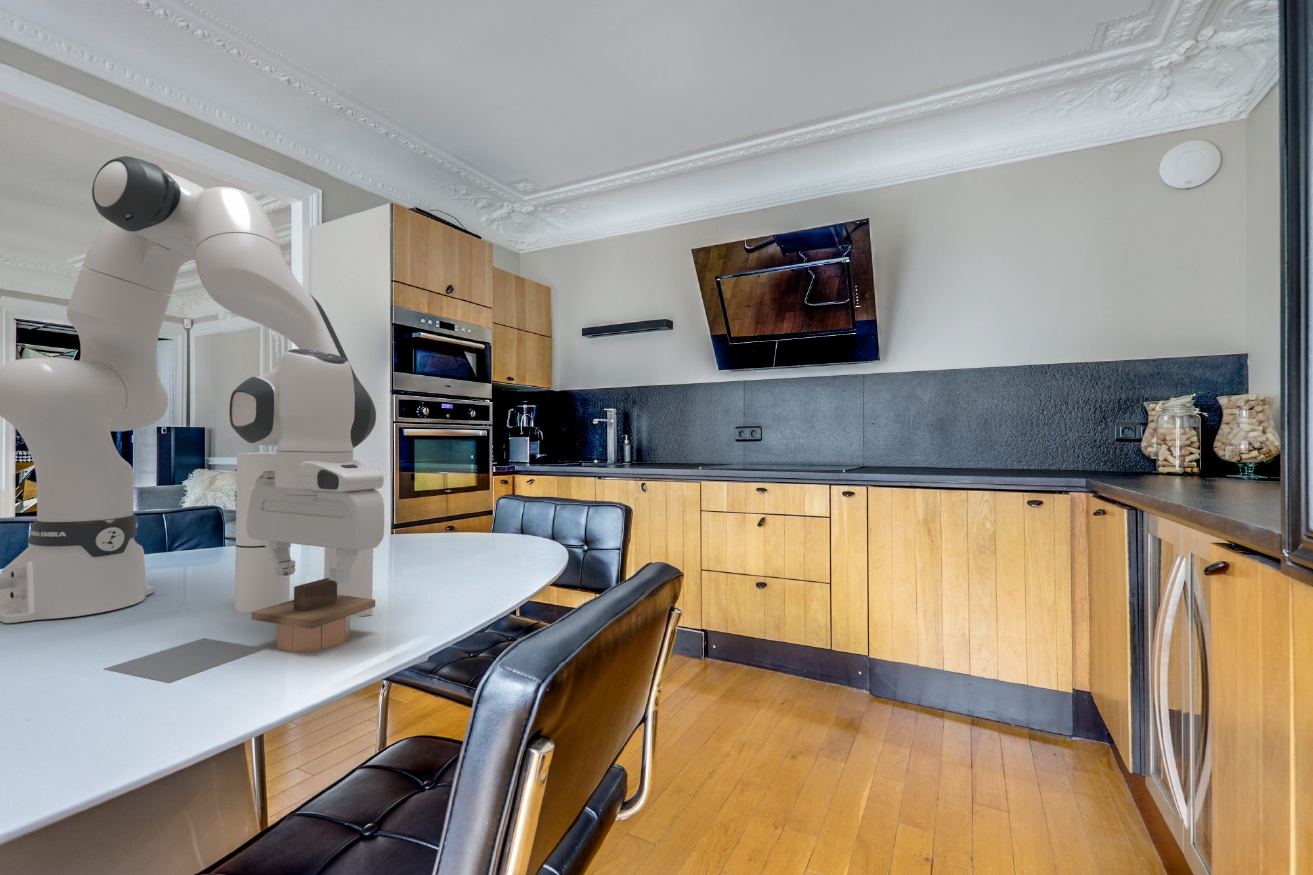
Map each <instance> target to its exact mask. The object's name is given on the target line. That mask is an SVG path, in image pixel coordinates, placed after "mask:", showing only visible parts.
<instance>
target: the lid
mask: <svg viewBox="0 0 1313 875" xmlns="http://www.w3.org/2000/svg"><path fill="white" fill-rule="evenodd" d="M375 607H376V599H374V598H372V599H367V598H359V597H351V596H343V595H337V583H332V582H330V580H329V578H325V579H324V578H322V579H318V580H315V581H311V582H307V583H303V584H299V585H294V586H293V599H292V600H289V601H288V602H284V603H281V604H277V605H274V606H270V607H267V608H263V609H260V610H256V611H253V612H250V613H251V616H250V617H251V618H250V620H251V621H257V622H264V623H271V624H276V625H277V624H282V625H289V626H295V627H302V628H308V629H313V628H316V627H319V626H322V625H325V624H328V623H330V622H333V621H336V620H339V619H342V618H345V617H348V616H350V617H351V615H353V614H356V613H359V612H362V611H365V610H368V609H370V608H372V609H374V608H375Z"/></svg>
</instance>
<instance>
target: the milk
mask: <svg viewBox="0 0 1313 875" xmlns="http://www.w3.org/2000/svg"><path fill="white" fill-rule="evenodd" d="M323 555H324V559H323V560H324V565H323V566H324V567H323V579H325V578H330V569H333V568H335V567H336V565H337V563H338V560H339V558H340V557H336V548H327V547H324V554H323ZM373 573H374V548H372V549H368V550H362V551H358V555H357V557H356V559H355V561H354V562H353V564H352V566H351V568H350V574H349V580H348V581H347V582H345V583H341V584H339V583H337V595H343V596H351V597H359V598H367V599H373V595H374V594H373V593H374V588H373V587H374V586H373V585H374V583H373V582H374V581H373V579H374V574H373ZM372 615H373V608H370V609H368V610H365V611H362V612H359V613H356V614H353V615H350V617H352V616H353V617H359V618H360V617H361V618H362V617H366V616H372Z"/></svg>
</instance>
